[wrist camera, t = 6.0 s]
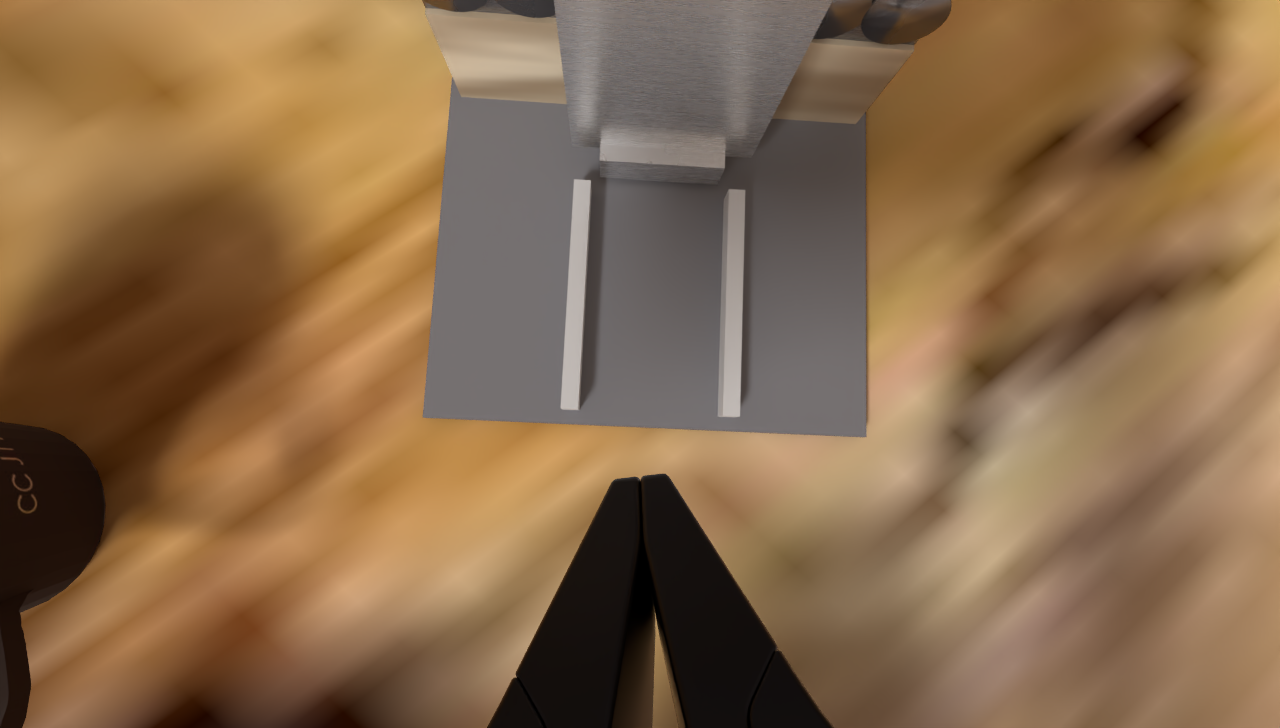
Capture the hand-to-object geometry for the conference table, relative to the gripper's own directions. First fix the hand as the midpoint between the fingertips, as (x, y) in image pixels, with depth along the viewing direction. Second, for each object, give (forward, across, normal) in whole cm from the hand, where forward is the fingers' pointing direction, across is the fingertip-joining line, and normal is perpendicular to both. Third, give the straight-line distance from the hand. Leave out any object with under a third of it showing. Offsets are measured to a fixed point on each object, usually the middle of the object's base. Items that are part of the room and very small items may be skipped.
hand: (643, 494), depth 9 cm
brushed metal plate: (+18, -2, -2) cm, 18 cm away
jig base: (+15, -1, +2) cm, 15 cm away
